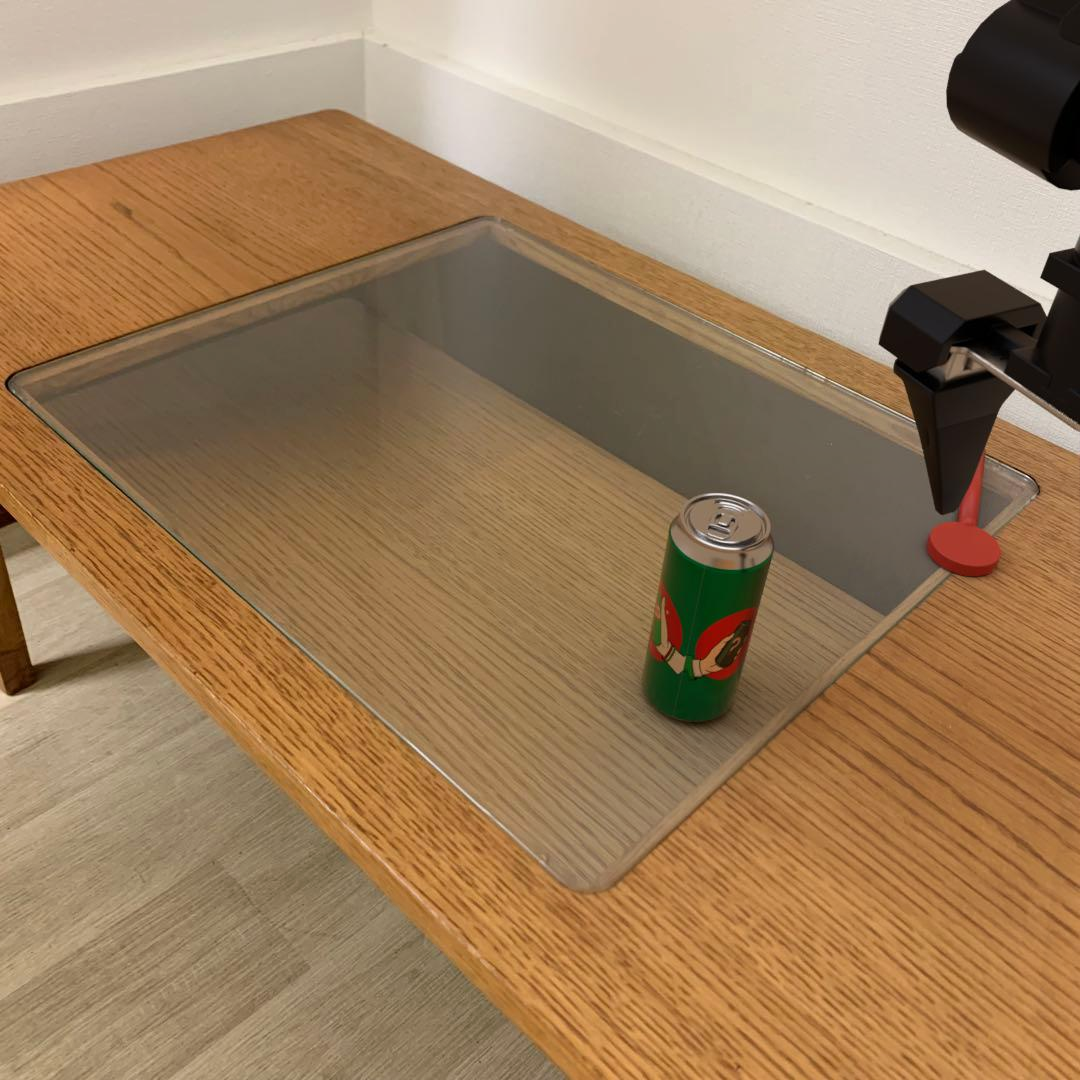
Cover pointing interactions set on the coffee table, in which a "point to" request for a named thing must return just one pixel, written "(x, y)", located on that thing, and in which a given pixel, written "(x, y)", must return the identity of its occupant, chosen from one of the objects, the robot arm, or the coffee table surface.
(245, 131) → the coffee table surface
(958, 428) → the robot arm
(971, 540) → the spoon
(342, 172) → the coffee table surface
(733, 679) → the soda can
